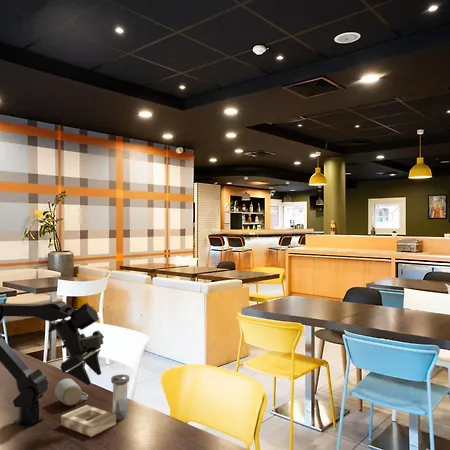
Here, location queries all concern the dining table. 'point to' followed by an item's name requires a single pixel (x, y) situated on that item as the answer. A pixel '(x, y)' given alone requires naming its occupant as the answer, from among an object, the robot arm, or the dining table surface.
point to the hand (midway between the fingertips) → (94, 379)
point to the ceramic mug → (69, 392)
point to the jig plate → (93, 426)
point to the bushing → (120, 395)
